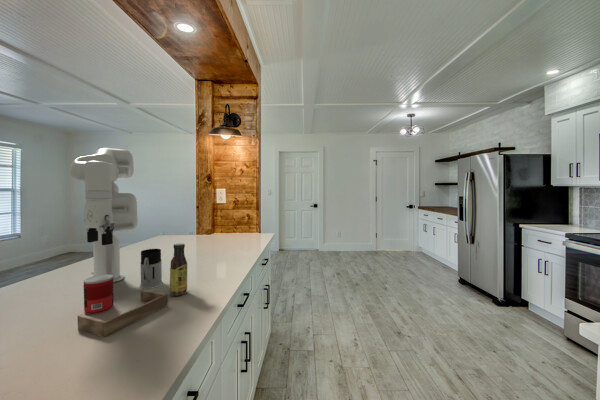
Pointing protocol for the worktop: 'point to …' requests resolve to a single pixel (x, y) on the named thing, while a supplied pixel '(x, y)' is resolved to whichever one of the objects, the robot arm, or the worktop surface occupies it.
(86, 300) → the canned food
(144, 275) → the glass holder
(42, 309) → the worktop surface
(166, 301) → the wooden corner frame
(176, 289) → the sauce bottle
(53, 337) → the worktop surface
